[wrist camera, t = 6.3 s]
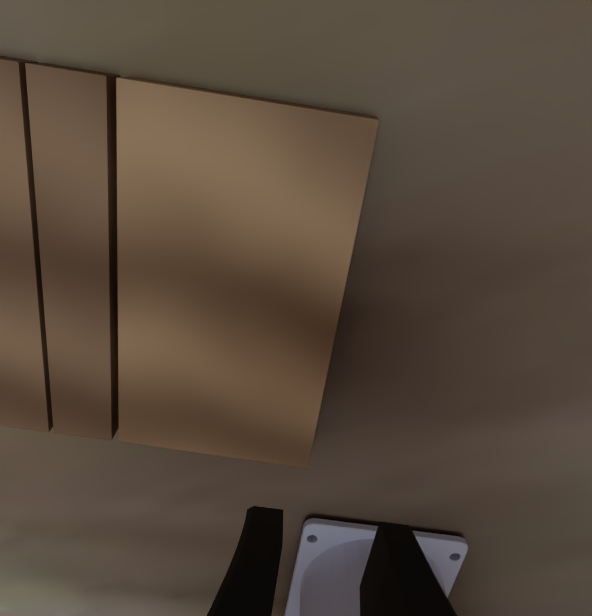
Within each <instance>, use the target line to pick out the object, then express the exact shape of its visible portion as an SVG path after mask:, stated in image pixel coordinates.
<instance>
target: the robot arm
mask: <svg viewBox="0 0 592 616" xmlns="http://www.w3.org/2000/svg"><path fill="white" fill-rule="evenodd" d="M310 535H314V536H310ZM282 540H283V510H281V509H273V508H265V507H257V506H253V507H251V508H249V509H247V514H246V519H245V523H244V527H243V530H242V534H241V537H240V540H239V543H238V546H237V548H236V551H235V554H234V556H233V559H232V561H231V564H230V566H229V569H228V571H227V573H226V576H225V578H224V580H223V582H222V584H221V587H220V589H219V591H218V593H217V595H216V598H215V600H214V602H213V604H212V606H211V608H210V610H209V612H208V614H207V616H271V613H272V607H273V601H274V594H275V588H276V582H277V575H278V569H279V562H280V556H281V550H282ZM467 551H468V545H467V542H466V540H465V539H464V538H462V537H459V536H451V535H444V534H436V533H428V532H420V531H412V529H411V528H410V527H409V525H401V524H393V523H385V522H379V525H378V526H373V525H365V524H357V523H349V522H341V521H334V520H326V519H318V518H311V519H308V520H306V521H305V523H304V525H303V529H302V534H301V539H300V543H299V548H298V553H297V557H296V562H295V567H294V571H293V576H292V580H291V585H290V590H289V594H288V599H287V604H286V608H285V613H284V616H457V615H456V613H455V611H454V610H453V608H452V606H451V604H450V602H449V601H448V596H449V593H450V591H451V589H452V586H453V584H454V582H455V579H456V577H457V575H458V572H459V570H460V567H461V565H462V563H463V560H464V558H465V556H466V553H467Z"/></svg>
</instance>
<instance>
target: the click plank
mask: <svg viewBox="0 0 592 616" xmlns="http://www.w3.org/2000/svg"><path fill="white" fill-rule="evenodd" d="M116 108H117V255H118V402H119V442H126V443H133V444H140V445H147V446H154V447H161V448H168V449H175V450H182V451H189V452H196V453H203V454H210V455H217V456H224V457H231V458H238V459H245V460H252V461H259V462H266V463H273V464H280V465H287V466H294V467H301V468H308V465H309V460H310V455H311V450H312V445H313V440H314V436H315V431H316V426H317V421H318V416H319V411H320V406H321V402H322V397H323V392H324V387H325V382H326V377H327V372H328V368H329V363H330V358H331V353H332V348H333V343H334V338H335V334H336V329H337V324H338V319H339V314H340V309H341V304H342V300H343V295H344V290H345V285H346V280H347V275H348V270H349V266H350V261H351V256H352V251H353V246H354V241H355V236H356V232H357V227H358V222H359V217H360V212H361V207H362V203H363V198H364V193H365V188H366V183H367V178H368V173H369V169H370V164H371V159H372V154H373V149H374V144H375V139H376V135H377V130H378V125H379V119H378V118H377V117H375V116H369V115H363V114H357V113H350V112H344V111H338V110H332V109H326V108H319V107H313V106H307V105H301V104H295V103H288V102H282V101H276V100H270V99H264V98H257V97H251V96H245V95H239V94H233V93H226V92H220V91H214V90H208V89H202V88H195V87H189V86H183V85H177V84H171V83H164V82H158V81H152V80H146V79H140V78H133V77H118V78H116Z"/></svg>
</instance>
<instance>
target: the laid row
mask: <svg viewBox="0 0 592 616" xmlns="http://www.w3.org/2000/svg"><path fill="white" fill-rule="evenodd" d="M118 77H120V75H115V74H108V73H102V72H96V71H90V70H83V69H77V68H71V67H65V66H58V65H52V64H46V63H38V62H33V61H27V60H21V59H15V58H9V57H2V56H0V426H5V427H13V428H20V429H28V430H36V431H43V432H49V431H50V430H51V429H52V427H53V430H54V433H58V434H66V435H74V436H81V437H89V438H96V439H104V440H112V439H113V437H114V435H115V433H116V431H117V429H118V427H119V402H118V255H117V108H116V78H118Z"/></svg>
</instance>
